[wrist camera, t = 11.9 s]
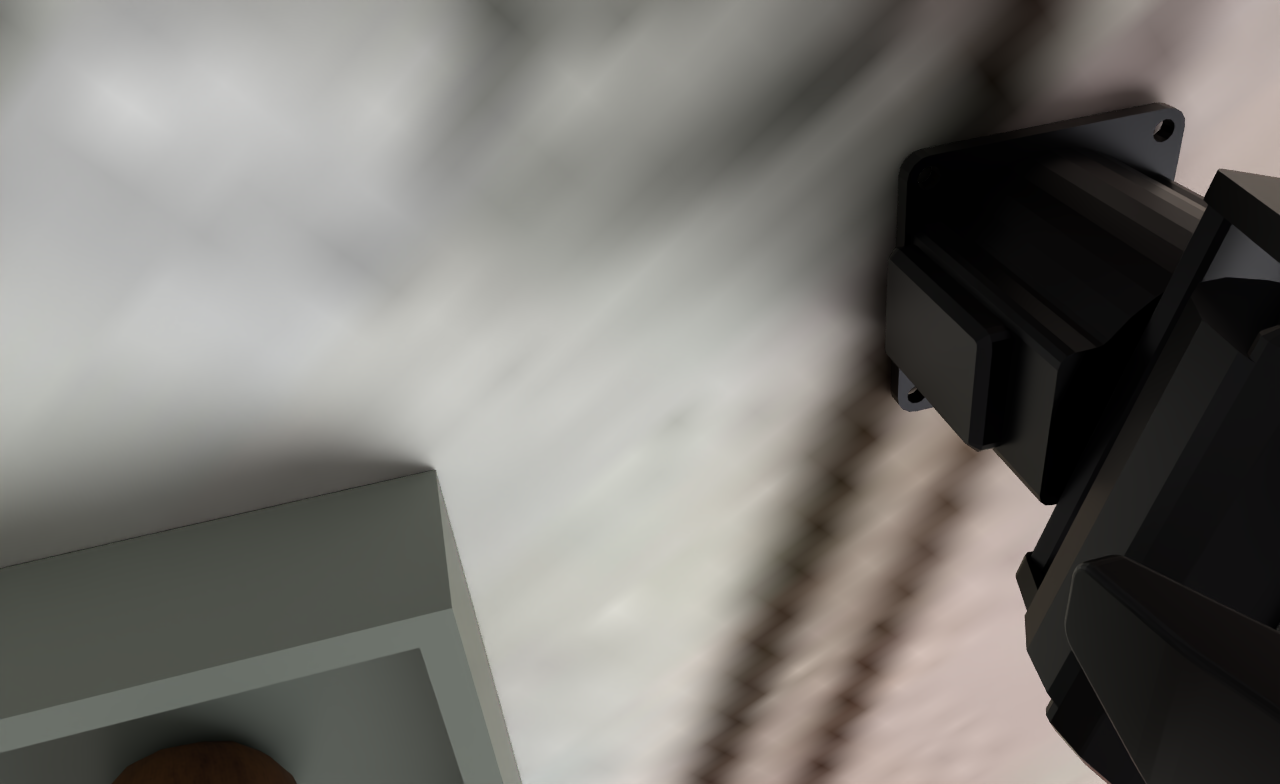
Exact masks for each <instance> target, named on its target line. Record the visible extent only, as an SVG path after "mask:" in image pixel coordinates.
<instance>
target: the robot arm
mask: <svg viewBox="0 0 1280 784" xmlns="http://www.w3.org/2000/svg"><path fill="white" fill-rule="evenodd" d="M1161 121H1163V124H1162V126H1161V129H1160V130H1159V131H1158V132H1157V133H1156V134H1154V135H1153V132H1154V130H1155V128H1156V126H1157V125H1158V124H1159V123H1160V122H1161ZM1184 127H1185V118H1184V116H1183V114H1182V112H1181V111H1179V110H1178V109H1176V108H1174V107H1172V106H1170V105H1167V104H1165V103H1152V104H1147V105H1142V106H1137V107H1132V108H1127V109H1122V110H1117V111H1112V112H1107V113H1102V114H1097V115H1092V116H1087V117H1081V118H1076V119H1071V120H1066V121H1061V122H1056V123H1051V124H1046V125H1041V126H1036V127H1031V128H1026V129H1021V130H1015V131H1010V132H1005V133H1000V134H995V135H990V136H985V137H980V138H975V139H970V140H965V141H960V142H955V143H950V144H944V145H939V146H934V147H929V148H924V149H920V150H918V151H915V152H913V153H912V154H911V155H909V156H908V157H907V158H906V159H905V161H904V162H903V164H902V166H901V167H900V172H899V179H898V206H897V233H896V248H895V249H894V251H893V252H892V254H891V256H890V258H889V259H888V272H887V303H886V333H885V351H886V354H887V355H888V356H889V357H890V358H891V359H892V367H891V394H892V397H893V398H894V399H895V400H896V402H897V403H898V404H899V405H900V406H901V408H902V409H903V410H906V411H909V412H911V411H919V410H923V409H928V408H932V407H934V408H935V410H936V411H937V412H938V413H939V414H940V415H941V416H942V418H943V419H944V420H945V421H946V422H947V423H948V424H949V425H950V427H951V428H952V429H953V430H954V431H955V432H956V433H957V435H958V436H959V437H960V438H961V439H962V440H963V441H964V443H965V444H967V445H968V446H970V447H971V448H973V449H974V450H976V451H977V452H979V451H984V450H988V449H993V450H994V451H995V453H996V454H997V455H998V456H999V457H1000V458H1001V459H1002V460H1003V461H1004V462H1005V464H1006V465H1007V466H1008V467H1009V468H1010V469H1011V470H1012V471H1013V472H1014V473H1015V475H1016V476H1017V477H1018V478H1019V479H1020V480H1021V481H1022V482H1023V483H1024V484H1025V486H1026V487H1027V488H1028V489H1029V490H1030V491H1031V492H1032V493H1033V494H1034V495H1035V497H1036V498H1037V499H1038V500H1039V501H1040V502H1041V503H1043V504H1044V505H1054V504H1057V505H1056V507H1055V509H1054V511H1053V513H1052V515H1051V517H1050V519H1049V521H1048V523H1047V525H1046V527H1045V529H1044V531H1043V533H1042V535H1041V537H1040V539H1039V541H1038V543H1037V545H1036V547H1035V549H1034V551H1032V552H1027V553H1026V555H1025V557H1024V559H1023V561H1022V563H1021V565H1020V567H1019V569H1018V571H1017V573H1016V579H1017V582H1018V585H1019V588H1020V591H1021V594H1022V597H1023V600H1024V603H1025V606H1026V609H1027V612H1026V614H1025V630H1026V647H1027V652H1028V654H1029V656H1030V658H1031V660H1032V662H1033V664H1034V667H1035V669H1036V671H1037V673H1038V675H1039V677H1040V679H1041V681H1042V683H1043V685H1044V687H1045V689H1046V692H1047V693H1048V695H1049V696H1050V698H1051V700H1050V702H1049V704H1048V706H1047V708H1046V716H1047V718H1048V720H1049V721H1050V723H1051V725H1052V726H1053V728H1054V729H1055V731H1056V732H1057V733H1058V734H1059V735H1060V737H1061V738H1062V739H1063V740H1064V741H1065V742H1066V743H1067V744H1068V746H1069V747H1070V748H1071V749H1072V750H1073V751H1074V752H1075V754H1076V755H1077V756H1078V757H1079V758H1080V759H1081V760H1082V761H1083V763H1084V764H1085V765H1087V766H1088V767H1089V768H1090V769H1091V770H1092V771H1094V772H1095V773H1096V774H1097V775H1098V776H1099V777H1100V778H1102V779H1103V780H1104V781H1105V782H1106V783H1107V784H1280V178H1277V177H1271V176H1264V175H1258V174H1252V173H1246V172H1239V171H1233V170H1227V169H1218V171H1217V173H1216V175H1215V177H1214V179H1213V181H1212V183H1211V185H1210V187H1209V189H1208V191H1207V193H1206V195H1205V197H1203V196H1201V195H1199V194H1197V193H1195V192H1193V191H1191V190H1189V189H1188V188H1186V187H1184V186H1182V185H1180V184H1178V183H1176V182H1174V178H1175V173H1176V168H1177V163H1178V158H1179V153H1180V148H1181V143H1182V137H1183V132H1184ZM929 166H931V168H932V170H931V174H930V176H929V177H928V178H927V179H926V180H925V181H923V182H921V183H918V178H919V174H920V173H921V172H922V171H923V170H924V169H925V168H927V167H929ZM913 387H916V388H917V390H916V391H915V392H913V393H911V394H908V393H909V391H910V390H911V389H912V388H913Z"/></svg>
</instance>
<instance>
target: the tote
mask: <svg viewBox="0 0 1280 784" xmlns="http://www.w3.org/2000/svg"><path fill="white" fill-rule="evenodd" d="M201 741H234V742H237V743H240V744H242V745H245V746H248V747H251V748H254V749H256V750H259V751H261V752H263V753H265V754H267V755H268V756H270V757H271V758H273V759H274V760H275V761H276V762H277V763H278V764H280V765H281V766H282V767H283V768H284V769H286V770H287V771H288V772H289V773H290V774H292V775H293V777H294V779H295V781H296V783H297V784H522V781H521V778H520V774H519V771H518V767H517V763H516V760H515V756H514V752H513V749H512V745H511V742H510V738H509V734H508V731H507V727H506V723H505V720H504V716H503V712H502V709H501V705H500V702H499V698H498V694H497V691H496V687H495V683H494V680H493V676H492V673H491V669H490V665H489V662H488V658H487V654H486V651H485V647H484V644H483V640H482V636H481V633H480V629H479V625H478V622H477V618H476V614H475V611H474V607H473V604H472V600H471V596H470V593H469V589H468V585H467V582H466V578H465V575H464V571H463V567H462V564H461V560H460V556H459V553H458V549H457V546H456V542H455V538H454V535H453V531H452V527H451V524H450V520H449V516H448V513H447V509H446V506H445V502H444V498H443V495H442V491H441V487H440V484H439V480H438V477H437V473H436V470H432V471H428V472H423V473H419V474H414V475H410V476H406V477H401V478H397V479H392V480H388V481H384V482H379V483H375V484H370V485H366V486H362V487H357V488H353V489H349V490H344V491H340V492H335V493H331V494H327V495H322V496H318V497H313V498H309V499H305V500H300V501H296V502H291V503H287V504H283V505H278V506H274V507H269V508H265V509H261V510H256V511H252V512H247V513H243V514H239V515H234V516H230V517H226V518H221V519H217V520H212V521H208V522H204V523H199V524H195V525H190V526H186V527H182V528H177V529H173V530H168V531H164V532H160V533H155V534H151V535H146V536H142V537H138V538H133V539H129V540H124V541H120V542H116V543H111V544H107V545H103V546H98V547H94V548H89V549H85V550H81V551H76V552H72V553H67V554H63V555H59V556H54V557H50V558H45V559H41V560H37V561H32V562H28V563H23V564H19V565H15V566H10V567H6V568H1V569H0V784H112V783H113V782H114V780H115V779H116V778H117V777H118V776H119V775H120V774H121V773H122V772H123V770H124V769H125V768H126V767H127V766H129V765H131V764H133V763H135V762H137V761H139V760H141V759H143V758H145V757H147V756H149V755H151V754H153V753H155V752H157V751H159V750H161V749H165V748H170V747H175V746H180V745H185V744H191V743H196V742H201Z"/></svg>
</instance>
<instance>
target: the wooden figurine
mask: <svg viewBox="0 0 1280 784" xmlns="http://www.w3.org/2000/svg"><path fill="white" fill-rule="evenodd" d="M112 784H297V783H296V781H295V779H294V777H293V775H292V774H290V773H289V772H288V771H287V770H286V769H284V768H283V767H282V766H281V765H280V764H278V763H277V762H276V761H275V760H274V759H273V758H271V757H270V756H268V755H267V754H265V753H263V752H261V751H259V750H256V749H254V748H251V747H248V746H245V745H242V744H240V743H237V742H234V741H201V742H196V743H191V744H185V745H180V746H175V747H170V748H165V749H161V750H159V751H157V752H155V753H153V754H151V755H149V756H147V757H145V758H143V759H141V760H139V761H137V762H135V763H133V764H131V765H129V766H127V767H126V768H125V769H124V770H123V772H122V773H121V774H120V775H119V776H118V777H117V778H116V779H115V780H114V782H113V783H112Z"/></svg>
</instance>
